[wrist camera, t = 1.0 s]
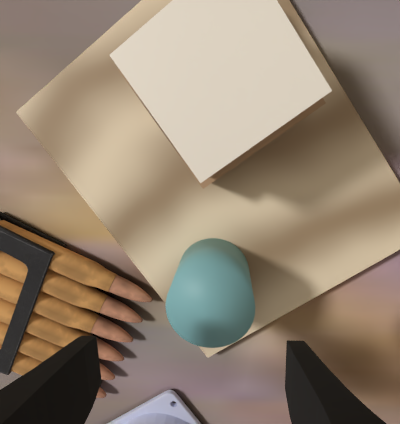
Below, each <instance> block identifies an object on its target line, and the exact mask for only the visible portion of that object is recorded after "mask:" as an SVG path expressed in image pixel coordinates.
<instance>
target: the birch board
mask: <svg viewBox="0 0 400 424" xmlns="http://www.w3.org/2000/svg"><path fill="white" fill-rule="evenodd" d="M171 1H172V0H142V1H140V2H139V3H138V4H137V5H136V6H135V7H134V8H133V9H131V10H130V11H129V12H128V13H127V14H126V15H125V16H124V17H122V18H121V19H120V20H119V21H118V22H117V23H116V24H115V25H113V26H112V27H111V28H110V29H109V30H108V31H107V32H106V33H104V34H103V35H102V36H101V37H100V38H99V39H98V40H97V41H95V42H94V43H93V44H92V45H91V46H90V47H89V48H88V49H86V50H85V51H84V52H83V53H82V54H81V55H80V56H78V57H77V58H76V59H75V60H74V61H73V62H72V63H71V64H69V65H68V66H67V67H66V68H65V69H64V70H63V71H62V72H60V73H59V74H58V75H57V76H56V77H55V78H54V79H53V80H51V81H50V82H49V83H48V84H47V85H46V86H45V87H44V88H42V89H41V90H40V91H39V92H38V93H37V94H36V95H35V96H33V97H32V98H31V99H30V100H29V101H28V102H27V103H26V104H24V105H23V106H22V107H21V108H20V109H19V110H18V111H17V112H16V113H17V114H18V115H19V117H20V118H21V119H22V121H23V122H24V123H25V124H26V126H27V127H28V128H29V130H30V131H31V132H32V133H33V135H34V136H35V137H36V138H37V140H38V141H39V142H40V144H41V145H42V146H43V147H44V149H45V150H46V151H47V153H48V154H49V155H50V156H51V158H52V159H53V160H54V162H55V163H56V164H57V165H58V167H59V168H60V169H61V170H62V172H63V173H64V174H65V176H66V177H67V178H68V179H69V181H70V182H71V183H72V185H73V186H74V187H75V188H76V190H77V191H78V192H79V194H80V195H81V196H82V197H83V199H84V200H85V201H86V202H87V204H88V205H89V206H90V208H91V209H92V210H93V211H94V213H95V214H96V215H97V217H98V218H99V219H100V220H101V222H102V223H103V224H104V226H105V227H106V228H107V229H108V231H109V232H110V233H111V234H112V236H113V237H114V238H115V240H116V241H117V242H118V243H119V245H120V246H121V247H122V249H123V250H124V251H125V252H126V254H127V255H128V256H129V258H130V259H131V260H132V261H133V263H134V264H135V265H136V267H137V268H138V269H139V270H140V272H141V273H142V274H143V275H144V277H145V278H146V279H147V281H148V282H149V283H150V284H151V286H152V287H153V288H154V290H155V291H156V292H157V293H158V295H159V296H160V297H161V299H162V300H163V301H164V302H165V304H166V298H167V294H168V292H169V289H170V286H171V284H172V281H173V279H174V276H175V273H176V271H177V268H178V266H179V263H180V260H181V258H182V256H183V254H184V252H185V251H186V250H187V249H188V248H189V247H190V246H191V245H193V244H194V243H196V242H198V241H200V240H203V239H208V238H218V239H223V240H226V241H229V242H231V243H232V244H234V245H235V246H237V247H238V248H239V249H240V250H241V251H242V253H243V254H244V256H245V257H246V260H247V262H248V266H249V272H250V278H251V283H252V289H253V295H254V301H255V317H254V320H253V323H252V325H251V327H250V329H249V330H248V332H247V333H246V334H245V335H244V336H243V337H242V338H244V337H246V336H247V335H249V334H251V333H253V332H254V331H256V330H258V329H260V328H262V327H263V326H265V325H267V324H269V323H270V322H272V321H274V320H276V319H278V318H279V317H281V316H283V315H285V314H286V313H288V312H290V311H292V310H294V309H295V308H297V307H299V306H301V305H302V304H304V303H306V302H308V301H309V300H311V299H313V298H315V297H317V296H318V295H320V294H322V293H324V292H325V291H327V290H329V289H331V288H333V287H334V286H336V285H338V284H340V283H341V282H343V281H345V280H347V279H349V278H350V277H352V276H354V275H356V274H357V273H359V272H361V271H363V270H365V269H366V268H368V267H370V266H372V265H373V264H375V263H377V262H379V261H380V260H382V259H384V258H386V257H388V256H389V255H391V254H393V253H395V252H396V251H398V250H400V183H399V181H398V179H397V178H396V176H395V174H394V173H393V171H392V169H391V168H390V166H389V164H388V163H387V161H386V159H385V158H384V156H383V154H382V153H381V151H380V149H379V148H378V146H377V144H376V143H375V141H374V140H373V138H372V136H371V135H370V133H369V131H368V130H367V128H366V126H365V125H364V123H363V121H362V120H361V118H360V116H359V115H358V113H357V111H356V110H355V108H354V106H353V105H352V103H351V101H350V100H349V98H348V96H347V95H346V93H345V91H344V90H343V88H342V87H341V85H340V83H339V82H338V80H337V78H336V77H335V75H334V73H333V72H332V70H331V68H330V67H329V65H328V63H327V62H326V60H325V58H324V57H323V55H322V53H321V52H320V50H319V48H318V47H317V45H316V43H315V42H314V40H313V38H312V37H311V35H310V34H309V32H308V30H307V29H306V27H305V25H304V24H303V22H302V20H301V19H300V17H299V15H298V14H297V12H296V10H295V9H294V7H293V5H292V4H291V2H290V0H277V1H278V3H279V5H280V6H281V8H282V9H283V11H284V13H285V14H286V16H287V18H288V19H289V21H290V23H291V24H292V26H293V27H294V29H295V31H296V32H297V34H298V36H299V37H300V39H301V41H302V42H303V44H304V46H305V47H306V49H307V50H308V52H309V54H310V55H311V57H312V59H313V60H314V62H315V64H316V65H317V67H318V68H319V70H320V72H321V73H322V75H323V77H324V78H325V80H326V82H327V83H328V85H329V87H330V88H331V90H332V91H331V92H330V93H328V94H327V95H325V96H324V97H323V99H324V101H325V102H326V104H324V105H323V106H321V107H320V108H318V109H317V110H316V111H314V112H313V113H311V114H310V115H308V116H307V117H306V118H304V119H303V120H301V121H300V122H298V123H297V124H295V125H294V126H293V127H291V128H290V129H288V130H287V131H285V132H284V133H283V134H281V135H280V136H278V137H277V138H275V139H274V140H273V141H271V142H270V143H268V144H267V145H265V146H264V147H263V148H261V149H260V150H258V151H257V152H255V153H254V154H252V155H251V156H250V157H248V158H247V159H245V160H244V161H242V162H241V163H240V164H238V165H237V166H235V167H234V168H232V169H231V170H230V171H228V172H227V173H225V174H224V175H222V176H221V177H220V178H218V179H217V180H215V181H214V182H212V183H211V184H209V185H208V186H207V187H205V188H204V189H203V188H202V187H201V185H200V184H199V183H198V181H197V180H196V178H195V177H194V176H193V174H192V173H191V171H190V170H189V169H188V167H187V166H186V164H185V163H184V162H183V160H182V159H181V157H180V156H179V154H178V153H177V152H176V150H175V149H174V147H173V146H172V145H171V143H170V142H169V140H168V139H167V138H166V136H165V135H164V133H163V132H162V131H161V129H160V128H159V126H158V125H157V124H156V122H155V121H154V119H153V118H152V117H151V115H150V114H149V112H148V111H147V110H146V108H145V107H144V105H143V104H142V103H141V101H140V100H139V98H138V97H137V96H136V94H135V93H134V91H133V90H132V89H131V87H130V86H129V84H128V83H127V81H126V80H125V79H124V77H123V76H122V74H121V73H120V72H119V70H118V69H119V68H118V67H117V65H116V64H115V62H114V61H113V60H112V58H111V57H110V54H111V53H112V52H113V51H114V50H116V49H117V48H118V47H119V46H120V45H121V44H123V43H124V42H125V41H126V40H127V39H128V38H129V37H131V36H132V35H133V34H134V33H135V32H136V31H138V30H139V29H140V28H141V27H142V26H143V25H144V24H146V23H147V22H148V21H149V20H150V19H151V18H153V17H154V16H155V15H156V14H157V13H158V12H159V11H161V10H162V9H163V8H164V7H165V6H166V5H168V4H169V3H170V2H171ZM242 338H241V339H242ZM239 340H240V339H239ZM236 342H237V341H236ZM234 343H235V342H234ZM232 344H233V343H232ZM230 345H231V344H230ZM230 345H227V346H224V347H218V348H206V347H201V346H199V347H200V348H201V350H202V351H203V352H204V354H205V355H206V356H207V357H210V356H212V355H214V354H215V353H217V352H219V351H221V350H223V349H224V348H226V347H228V346H230Z"/></svg>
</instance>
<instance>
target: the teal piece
mask: <svg viewBox="0 0 400 424" xmlns="http://www.w3.org/2000/svg"><path fill="white" fill-rule="evenodd" d="M166 313H167V317H168V320H169V322H170V324H171V326H172V327H173V329H174V330H175V331H176V332H177V333H178V334H179V335H180V336H181V337H182V338H183V339H185V340H186V341H188V342H190V343H192V344H194V345H197V346H201V347H206V348H218V347H224V346H227V345H230V344H232V343H234V342H236V341H238V340H239V339H241V338H242V337H243V336H244V335H245V334H246V333H247V332H248V330H249V329H250V327H251V325H252V323H253V320H254V317H255V301H254V295H253V289H252V283H251V278H250V272H249V266H248V262H247V260H246V257H245V256H244V254H243V253H242V251H241V250H240V249H239V248H238V247H237V246H235V245H234V244H232V243H231V242H229V241H226V240H223V239H218V238H208V239H203V240H200V241H198V242H196V243H194V244H193V245H191V246H190V247H189V248H188V249H187V250H186V251H185V252H184V254H183V256H182V258H181V260H180V263H179V266H178V268H177V271H176V273H175V276H174V279H173V281H172V284H171V286H170V289H169V292H168V294H167V298H166Z"/></svg>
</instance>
